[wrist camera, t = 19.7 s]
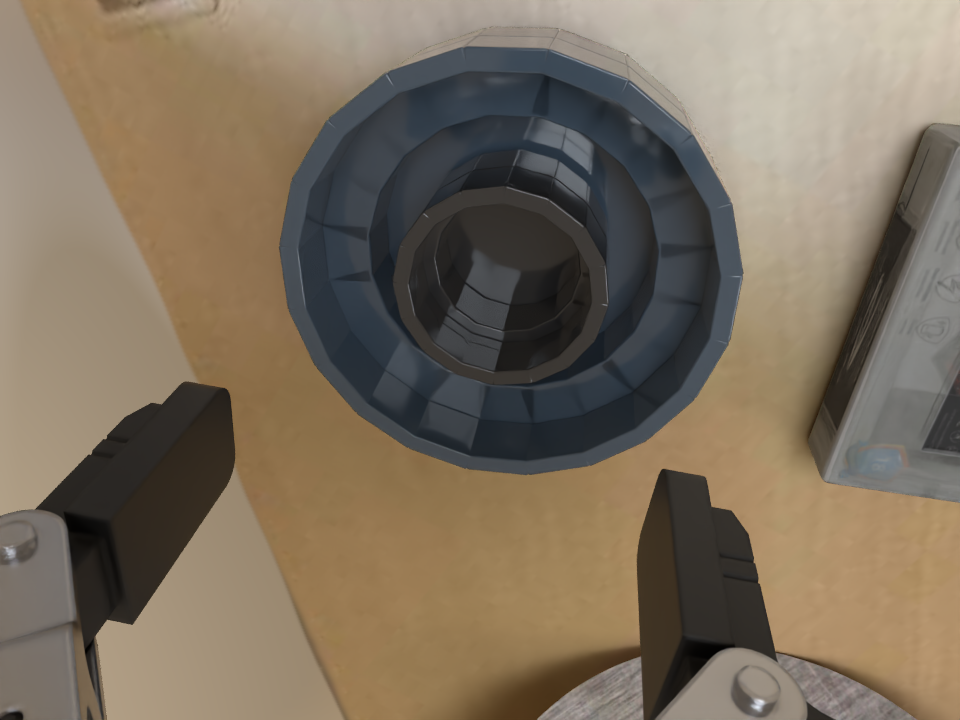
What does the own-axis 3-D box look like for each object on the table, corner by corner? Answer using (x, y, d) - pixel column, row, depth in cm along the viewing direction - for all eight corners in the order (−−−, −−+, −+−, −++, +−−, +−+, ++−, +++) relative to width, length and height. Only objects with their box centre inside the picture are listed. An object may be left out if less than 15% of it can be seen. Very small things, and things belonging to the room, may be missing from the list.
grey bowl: (272, 255, 27) (209, 315, 23) (478, -77, 21) (444, -79, 17) (547, 449, 30) (537, 535, 26) (806, 206, 23) (850, 267, 19)
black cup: (393, 249, 26) (355, 304, 22) (497, 104, 23) (474, 139, 19) (531, 349, 27) (518, 419, 23) (648, 225, 24) (655, 281, 20)
